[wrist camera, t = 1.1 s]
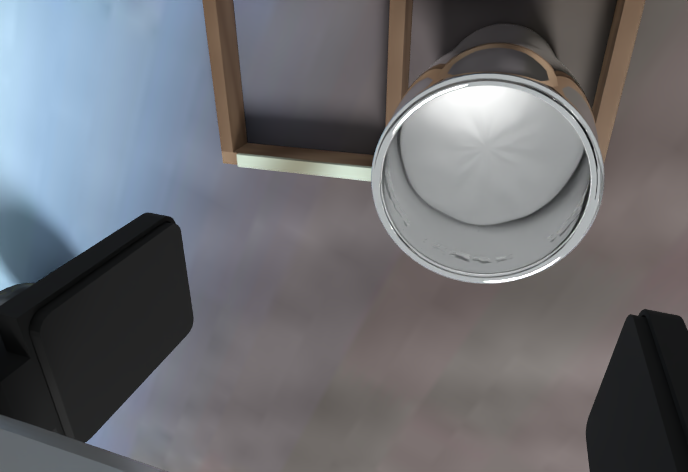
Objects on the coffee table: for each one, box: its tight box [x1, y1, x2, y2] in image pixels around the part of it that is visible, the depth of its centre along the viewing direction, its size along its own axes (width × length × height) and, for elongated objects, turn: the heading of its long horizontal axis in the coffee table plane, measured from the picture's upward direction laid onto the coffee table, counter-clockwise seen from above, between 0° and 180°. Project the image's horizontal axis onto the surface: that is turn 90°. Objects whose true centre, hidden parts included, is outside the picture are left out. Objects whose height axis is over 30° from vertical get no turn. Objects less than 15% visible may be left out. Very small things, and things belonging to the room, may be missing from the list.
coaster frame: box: [202, 0, 645, 181], centre depth 28 cm, size 22×11×2 cm, turn 91°
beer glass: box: [371, 24, 604, 284], centre depth 21 cm, size 7×7×15 cm
